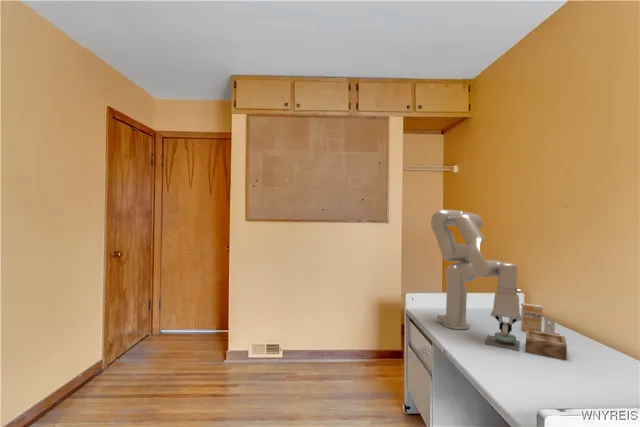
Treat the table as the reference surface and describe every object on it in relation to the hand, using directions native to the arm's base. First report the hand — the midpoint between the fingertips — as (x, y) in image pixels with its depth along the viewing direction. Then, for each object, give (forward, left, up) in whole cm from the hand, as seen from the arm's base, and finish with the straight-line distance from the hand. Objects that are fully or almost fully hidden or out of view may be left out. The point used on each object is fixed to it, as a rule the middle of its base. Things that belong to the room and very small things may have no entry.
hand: (505, 331), depth 157 cm
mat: (-1, 0, -5) cm, 5 cm away
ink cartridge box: (+18, +18, -5) cm, 26 cm away
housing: (+15, 0, -5) cm, 16 cm away
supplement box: (+10, +28, -5) cm, 30 cm away
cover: (0, 0, -3) cm, 3 cm away
